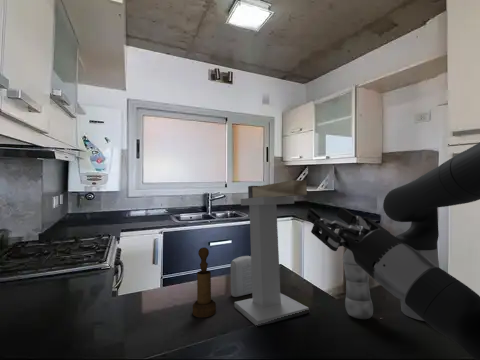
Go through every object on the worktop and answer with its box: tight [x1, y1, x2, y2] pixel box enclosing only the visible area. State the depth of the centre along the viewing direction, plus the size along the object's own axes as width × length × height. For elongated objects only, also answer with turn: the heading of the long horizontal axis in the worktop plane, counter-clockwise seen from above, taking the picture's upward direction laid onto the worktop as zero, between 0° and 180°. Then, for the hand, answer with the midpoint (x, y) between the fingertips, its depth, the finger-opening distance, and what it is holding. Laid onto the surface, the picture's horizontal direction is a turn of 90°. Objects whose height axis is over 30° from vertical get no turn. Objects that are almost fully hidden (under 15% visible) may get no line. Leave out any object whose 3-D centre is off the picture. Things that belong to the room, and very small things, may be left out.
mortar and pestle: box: [192, 247, 217, 318], centre depth 71 cm, size 7×6×18 cm
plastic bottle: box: [341, 248, 374, 320], centre depth 65 cm, size 6×7×20 cm
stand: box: [234, 196, 310, 326], centre depth 72 cm, size 16×14×32 cm
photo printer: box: [230, 255, 252, 298], centre depth 85 cm, size 10×4×12 cm, turn 124°
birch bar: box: [247, 179, 308, 198], centre depth 70 cm, size 4×23×4 cm, turn 25°
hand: (324, 211), depth 52 cm, fingers open, 8 cm apart
